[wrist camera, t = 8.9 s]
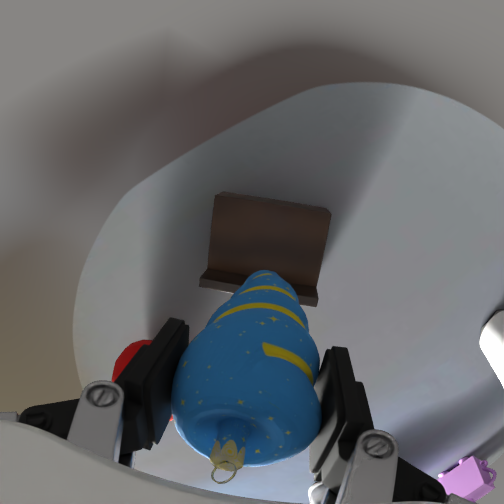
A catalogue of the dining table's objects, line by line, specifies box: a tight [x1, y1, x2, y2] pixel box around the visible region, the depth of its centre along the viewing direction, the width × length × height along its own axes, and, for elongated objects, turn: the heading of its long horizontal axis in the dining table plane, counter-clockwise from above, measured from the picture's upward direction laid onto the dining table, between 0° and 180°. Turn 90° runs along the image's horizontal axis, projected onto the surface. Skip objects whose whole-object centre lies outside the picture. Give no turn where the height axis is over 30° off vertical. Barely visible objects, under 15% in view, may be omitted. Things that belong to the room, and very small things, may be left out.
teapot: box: [437, 456, 496, 503], centre depth 40 cm, size 20×10×12 cm, turn 141°
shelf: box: [199, 192, 331, 307], centre depth 32 cm, size 9×12×7 cm
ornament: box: [171, 270, 322, 484], centre depth 13 cm, size 5×5×15 cm
